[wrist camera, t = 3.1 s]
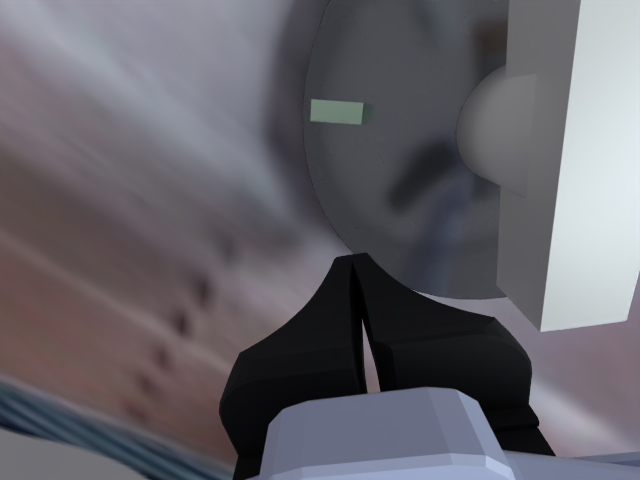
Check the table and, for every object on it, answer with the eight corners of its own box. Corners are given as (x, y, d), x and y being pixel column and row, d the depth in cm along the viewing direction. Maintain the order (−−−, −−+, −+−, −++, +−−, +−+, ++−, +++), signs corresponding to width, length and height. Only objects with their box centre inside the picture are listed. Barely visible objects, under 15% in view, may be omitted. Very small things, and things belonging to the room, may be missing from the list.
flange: (650, 255, 14) (690, 273, 13) (339, 302, 16) (340, 323, 14) (781, -219, 8) (885, -293, 7) (261, -71, 10) (249, -104, 8)
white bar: (556, 252, 13) (657, 318, 9) (458, 267, 13) (513, 336, 9) (603, -106, 8) (851, -296, 4) (453, -67, 9) (556, -208, 5)
